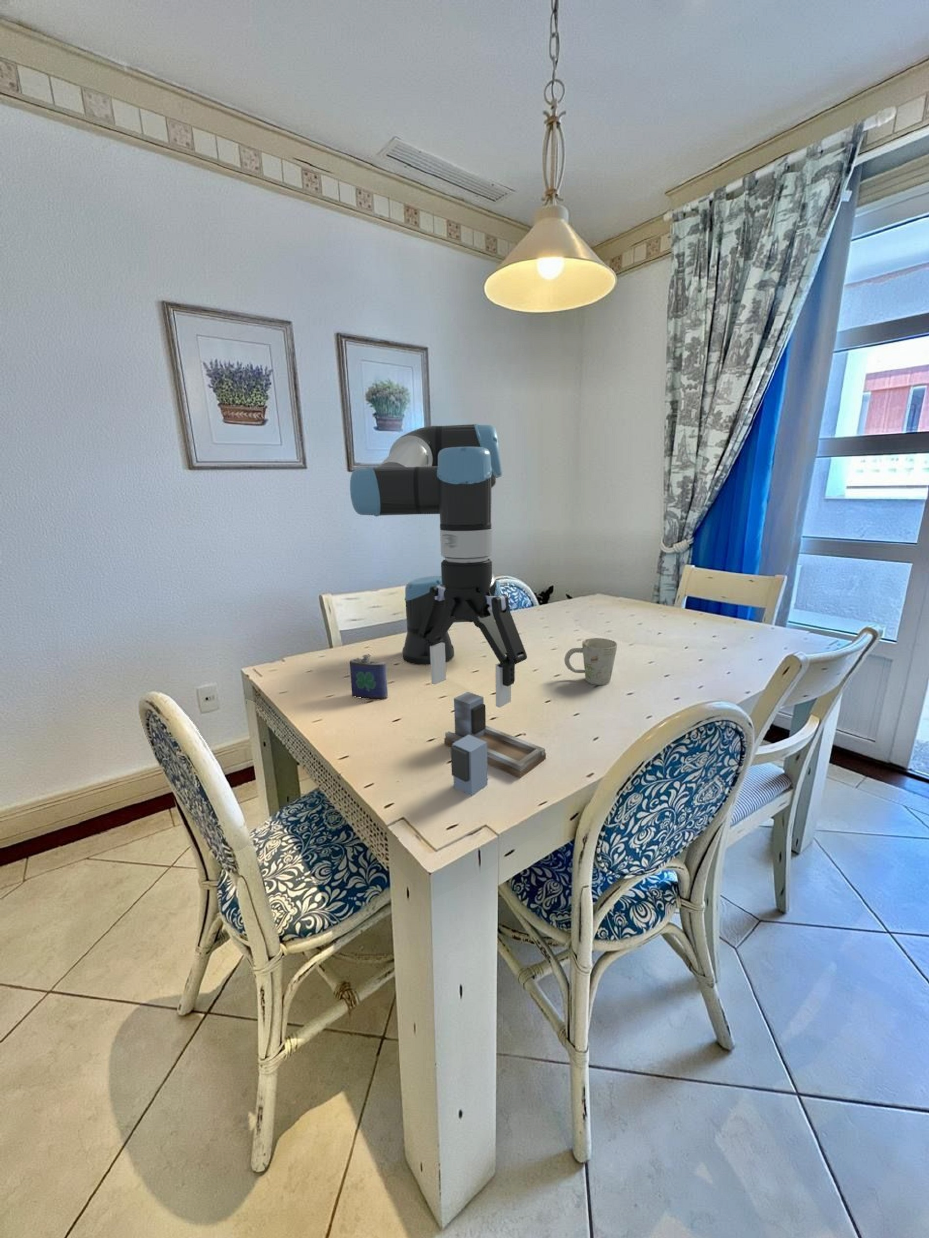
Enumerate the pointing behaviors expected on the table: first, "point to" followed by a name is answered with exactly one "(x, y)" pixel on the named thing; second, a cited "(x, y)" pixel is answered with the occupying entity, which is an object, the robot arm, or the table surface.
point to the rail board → (493, 738)
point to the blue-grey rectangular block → (469, 764)
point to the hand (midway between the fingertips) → (469, 692)
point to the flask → (368, 678)
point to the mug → (595, 659)
